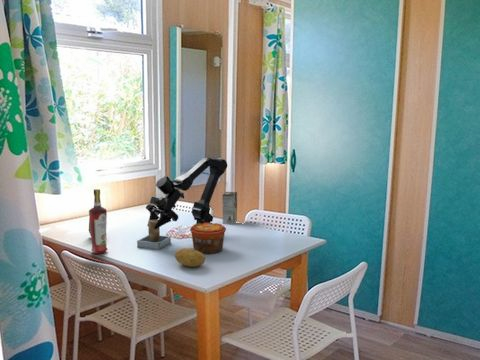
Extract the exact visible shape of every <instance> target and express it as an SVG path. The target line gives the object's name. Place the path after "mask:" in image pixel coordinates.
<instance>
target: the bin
mask: <svg viewBox="0 0 480 360" xmlns="http://www.w3.org/2000/svg"><path fill="white" fill-rule="evenodd" d="M171 237H172V236H168V235H160V241H159V242H149V234H148V235H146V236H144V237H142V238H140V239H137V240H136V244H137V245H136V246H137V247H136V248H142V249H150V250H156V251H157V250H158V251H160V250H162V249H163V248H165V247H166V246H168V245H169V244H171V243H172V238H171Z"/></svg>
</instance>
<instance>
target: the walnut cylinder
mask: <svg viewBox="0 0 480 360" xmlns="http://www.w3.org/2000/svg"><path fill="white" fill-rule="evenodd" d="M158 220H159V219H158ZM158 220H156V219H153V220H149V219H148V222H147V225H148V226H147V227H148V235H149V242H159V241H160V236H161V234H160V233H161V232H160V228H161V227H159V228H157V229H155V228H154V227H155V225H156V223H157V222H158Z"/></svg>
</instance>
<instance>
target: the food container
mask: <svg viewBox="0 0 480 360" xmlns="http://www.w3.org/2000/svg"><path fill="white" fill-rule="evenodd" d="M222 224H223V223H217V222H215V223H213V222H210V223H203V224H200V223H199V224H196V223H195V224H194V225H192V226H191V227H190V229H189V231H190V232H191V238H192V246H193V249H194V250H196V251H199V252H201V253H203V254H204V255H213V254H219V253H221V252H222V251H223V249H224V248H223V247H224V239H225V232H226V231H227V227H226V226H225V225H222Z"/></svg>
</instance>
